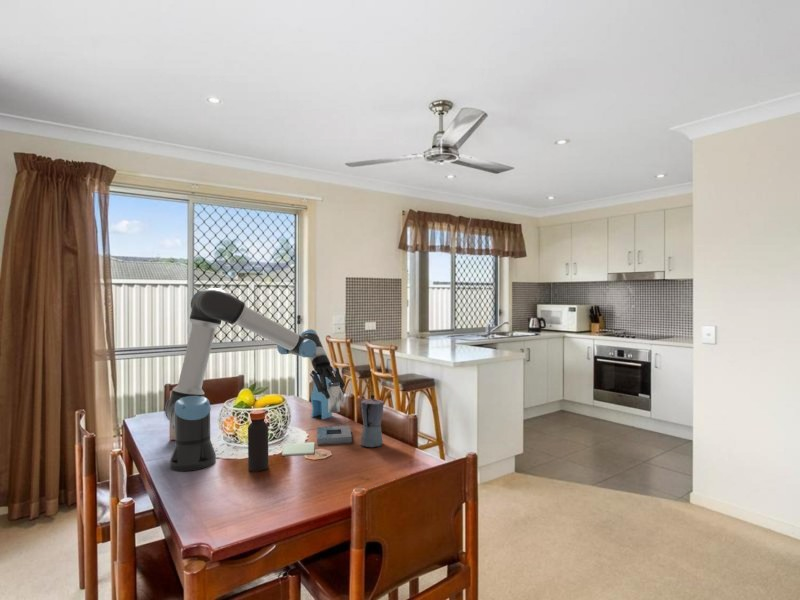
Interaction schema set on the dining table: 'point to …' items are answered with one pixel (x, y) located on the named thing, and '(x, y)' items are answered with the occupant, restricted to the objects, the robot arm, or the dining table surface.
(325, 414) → the blue notched block
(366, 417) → the moka pot
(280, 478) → the dining table surface
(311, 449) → the mat
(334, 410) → the silver canister
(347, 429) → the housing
